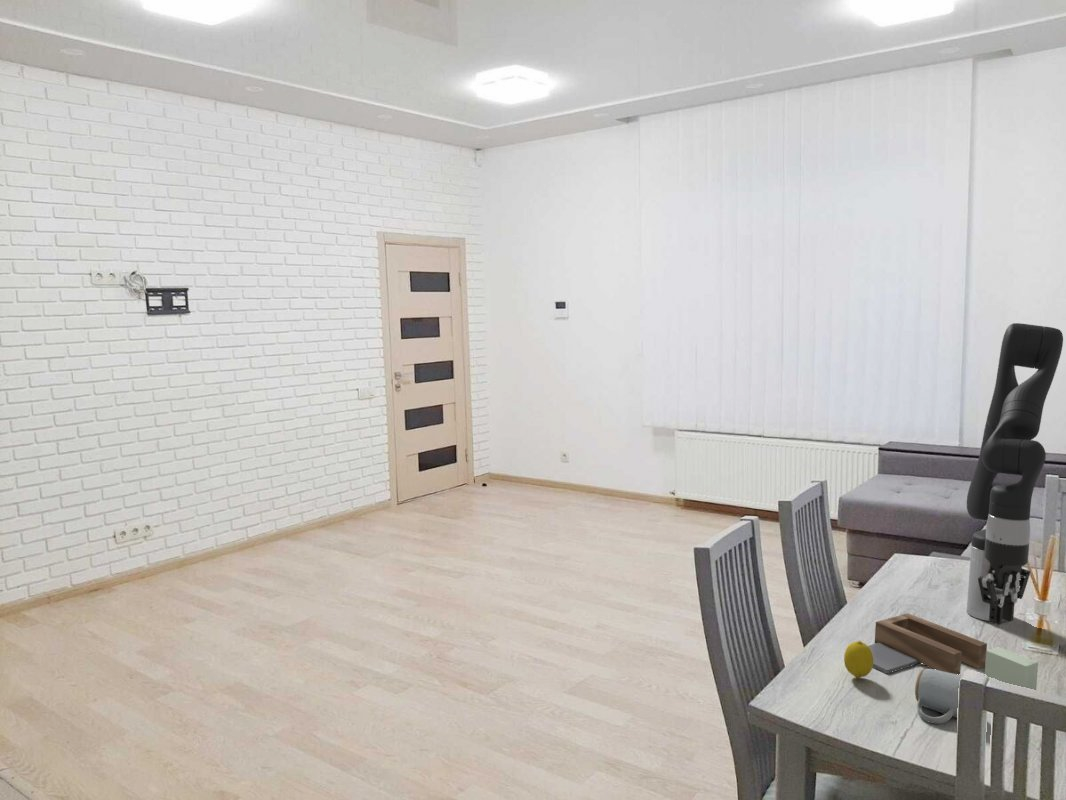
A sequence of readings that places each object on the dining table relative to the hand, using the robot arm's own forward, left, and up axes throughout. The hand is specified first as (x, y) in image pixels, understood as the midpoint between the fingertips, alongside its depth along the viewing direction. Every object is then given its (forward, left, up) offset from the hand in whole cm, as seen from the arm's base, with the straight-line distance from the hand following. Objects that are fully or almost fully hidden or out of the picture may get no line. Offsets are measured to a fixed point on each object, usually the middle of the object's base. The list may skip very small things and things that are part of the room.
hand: (1001, 621), depth 162 cm
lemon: (+23, -15, -13) cm, 30 cm away
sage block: (0, +3, -13) cm, 14 cm away
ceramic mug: (+21, +2, -13) cm, 25 cm away
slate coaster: (+11, -18, -13) cm, 25 cm away
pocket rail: (0, -15, -13) cm, 20 cm away
